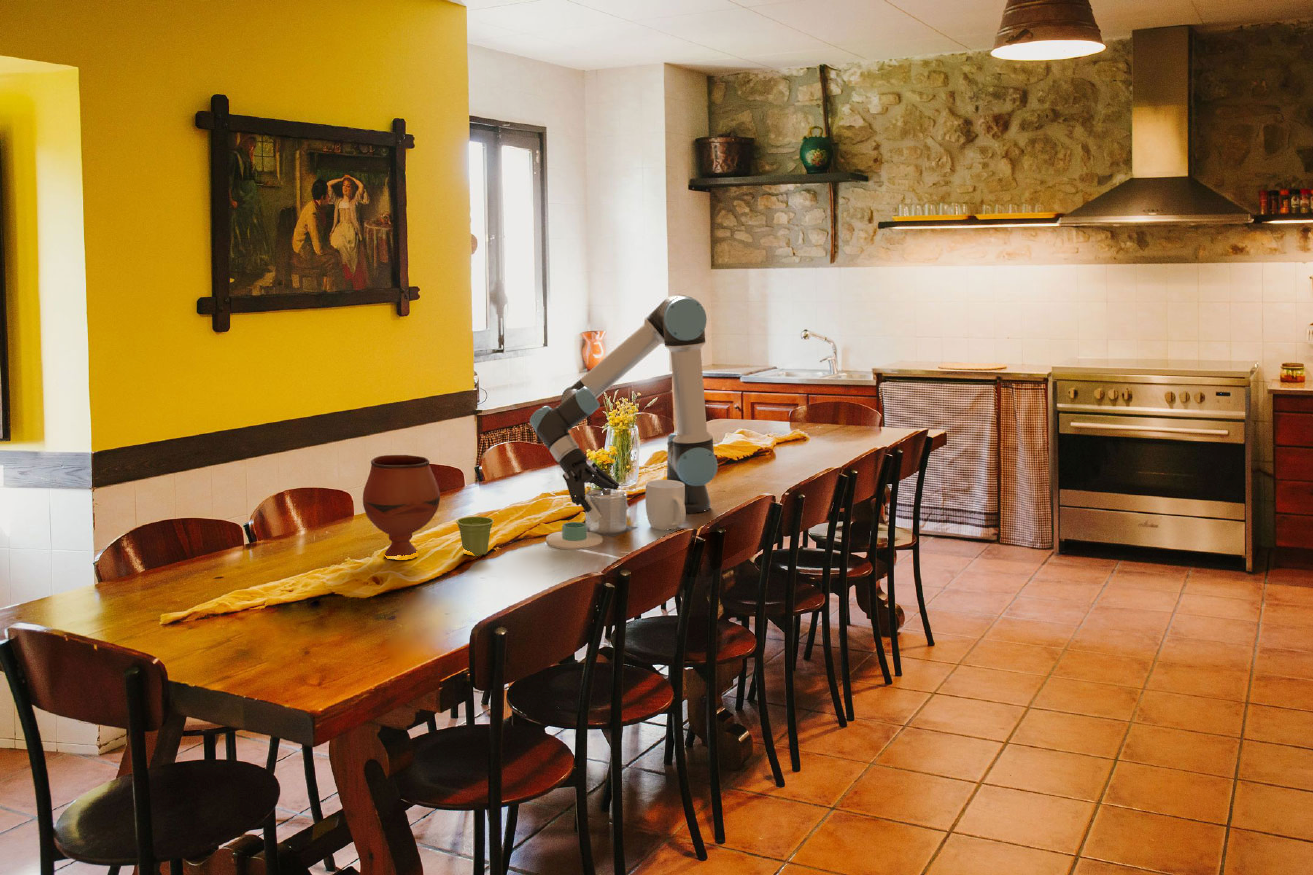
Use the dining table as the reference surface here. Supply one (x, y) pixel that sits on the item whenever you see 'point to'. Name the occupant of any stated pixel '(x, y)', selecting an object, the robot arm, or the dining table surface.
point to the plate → (573, 537)
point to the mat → (618, 533)
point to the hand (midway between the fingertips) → (612, 515)
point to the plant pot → (475, 534)
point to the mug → (665, 504)
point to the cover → (608, 511)
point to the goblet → (400, 498)
